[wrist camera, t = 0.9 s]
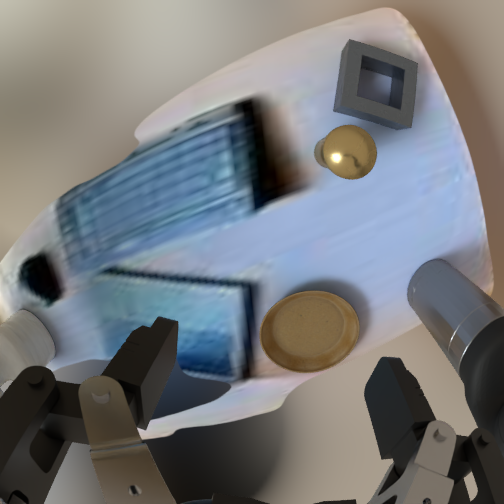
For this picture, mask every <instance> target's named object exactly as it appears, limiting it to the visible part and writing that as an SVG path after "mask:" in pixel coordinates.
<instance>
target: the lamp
mask: <svg viewBox="0 0 504 504" xmlns="http://www.w3.org/2000/svg"><path fill="white" fill-rule="evenodd" d="M54 356H55V345H54V342H53V339H52V337H51V335H50V334H49V332H48V330H47V329H46V327H45V326H44V325H43V324H42V322H41V321H40V320H39V319H38V318H37V317H36V316H34V315H33V314H32V313H30V312H29V311H26V310H19V311H18V312H16V313H15V314H13V315H12V316H11V317H10V318H8V319H7V320H6V321H5V322H3V323H2V324H1V325H0V387H1V386H2V385H3V384H4V383H5V382H6V381H8V380H12V381H14V380H15V379H16V377H17V376H18V375H19V374H20V372H21V371H22V370H24V369H25V368H27V367H30V366H36V365H37V366H44V367H46V366H47V365H48V364H49V362H50V361H51V360H52V359H53V358H54ZM3 394H4V393H3V391H2V390H1V389H0V398H1V396H2V395H3Z"/></svg>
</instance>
